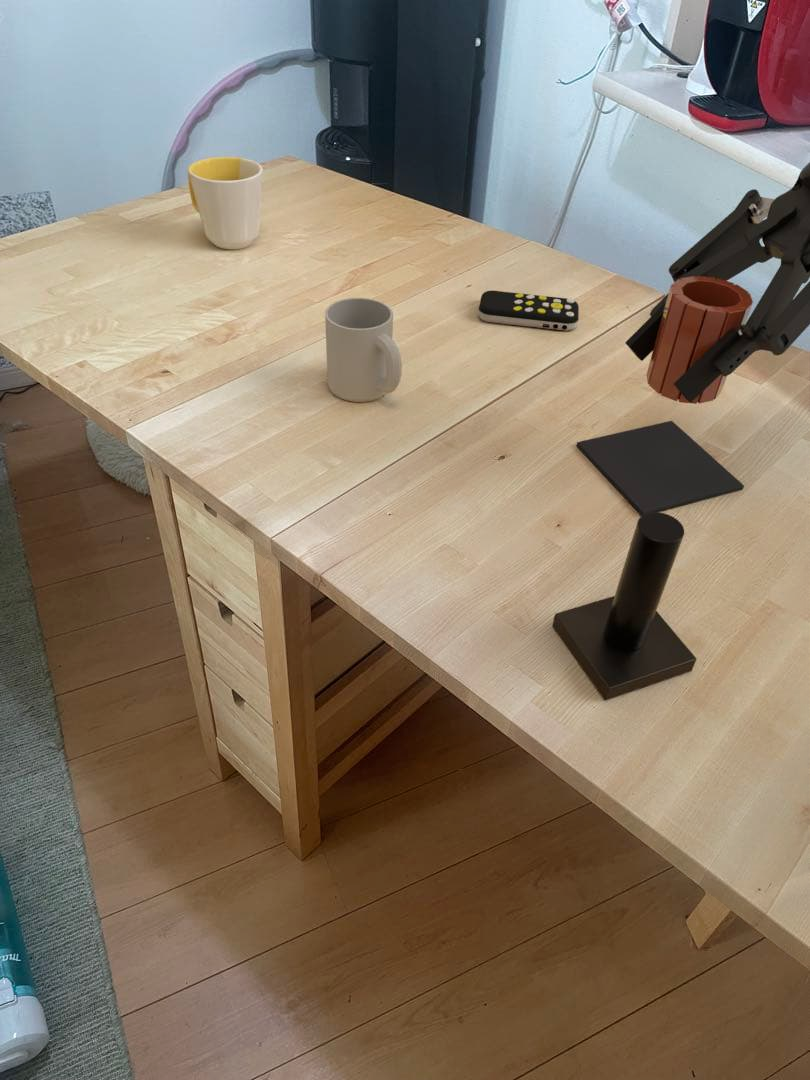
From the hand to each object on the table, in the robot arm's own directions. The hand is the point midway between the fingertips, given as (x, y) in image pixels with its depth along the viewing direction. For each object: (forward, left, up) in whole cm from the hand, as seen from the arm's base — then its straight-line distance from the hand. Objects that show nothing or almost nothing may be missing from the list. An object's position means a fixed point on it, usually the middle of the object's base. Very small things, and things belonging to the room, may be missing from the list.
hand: (657, 371), depth 74 cm
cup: (+23, +20, -12) cm, 32 cm away
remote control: (+33, -6, -12) cm, 36 cm away
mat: (0, -3, -12) cm, 12 cm away
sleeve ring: (0, -4, -2) cm, 4 cm away
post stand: (-19, +14, -12) cm, 26 cm away
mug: (+69, +25, -12) cm, 74 cm away
